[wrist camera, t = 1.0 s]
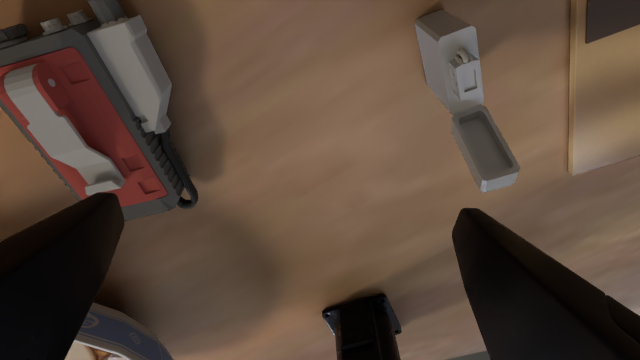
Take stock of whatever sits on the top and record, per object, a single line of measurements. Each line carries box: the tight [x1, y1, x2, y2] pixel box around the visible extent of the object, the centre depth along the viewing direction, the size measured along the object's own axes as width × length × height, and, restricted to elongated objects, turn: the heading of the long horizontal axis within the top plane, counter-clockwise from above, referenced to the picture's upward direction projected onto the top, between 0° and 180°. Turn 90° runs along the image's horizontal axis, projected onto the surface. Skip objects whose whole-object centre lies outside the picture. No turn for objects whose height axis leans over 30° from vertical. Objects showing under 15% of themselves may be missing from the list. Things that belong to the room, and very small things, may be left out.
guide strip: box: [568, 0, 640, 176], centre depth 19 cm, size 22×5×1 cm, turn 22°
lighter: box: [414, 9, 520, 193], centre depth 18 cm, size 7×2×8 cm, turn 21°
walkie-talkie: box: [0, 0, 198, 221], centre depth 19 cm, size 9×4×20 cm
